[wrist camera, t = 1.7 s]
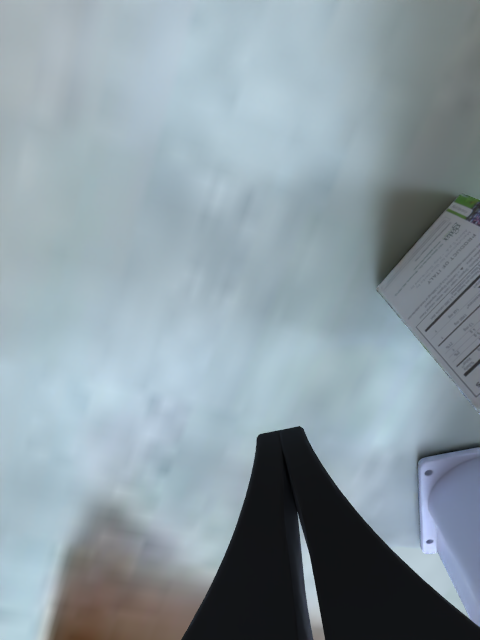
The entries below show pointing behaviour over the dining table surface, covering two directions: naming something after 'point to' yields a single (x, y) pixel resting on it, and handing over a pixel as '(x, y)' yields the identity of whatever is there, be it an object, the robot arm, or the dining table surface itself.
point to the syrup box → (444, 293)
